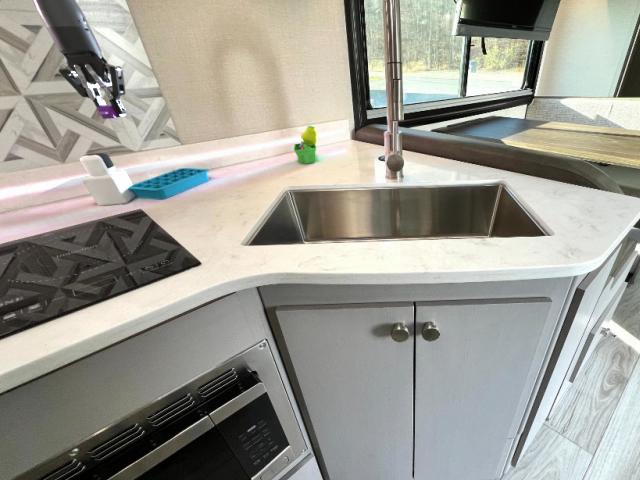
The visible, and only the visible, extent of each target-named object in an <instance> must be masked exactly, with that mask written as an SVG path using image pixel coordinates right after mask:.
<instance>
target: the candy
mask: <svg viewBox="0 0 640 480" xmlns="http://www.w3.org/2000/svg"><path fill="white" fill-rule="evenodd" d="M96 109H97V111H98V112H97V115H99V116H100V117H101V118H102V119H103V120H106V119H107V120H108V119H109V120H110V119H118V118H119V117H118V116H117V114H116V112H115V111H114V109H113V107H112V105H111V104H106V106H100V107H96ZM124 109H125V111H126V113H125V114H126V116H125V117H127V116H128V115H127V110H126V108H125V107H124Z"/></svg>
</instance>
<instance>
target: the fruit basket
mask: <svg viewBox="0 0 640 480" xmlns="http://www.w3.org/2000/svg"><path fill="white" fill-rule="evenodd" d="M317 135H318V132H317V130H316V127H315V126H313V125H308V126H307V128H306V129H305V130H304V131H303V133H302V134H301V135H300V136H301V141H300V143H299V142H298V143H294V144H293V151H294V153H295V154H296V157H297V159H298V161H299V163H300V164H301V165H307V164H316V154H317V152H316V151H317V143H318V136H317Z"/></svg>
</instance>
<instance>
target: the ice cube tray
mask: <svg viewBox="0 0 640 480" xmlns="http://www.w3.org/2000/svg"><path fill="white" fill-rule="evenodd" d="M209 172H210V169H208V168H194V167H193V168H192V167H181V168H177V169H174V170H171V171H169V172H165V173H162V174H159V175H157V176H154V177H151V178H148V179H145V180H142V181H139V182H135V183H132V184H133V185H132V186H130V187H129V188H128V189H132V190H133V191H134V193H135V194H136V198H141V199H151V200H165V199H169V198H171V197H174V196H176V195H178V194H180V193H184V192H185V191H187V190H190V189H192V188H194V187H198V186H199V185H202V184H204V183H206V182H209V181H210V179H209V175H208V173H209Z"/></svg>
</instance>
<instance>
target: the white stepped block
mask: <svg viewBox="0 0 640 480" xmlns="http://www.w3.org/2000/svg"><path fill="white" fill-rule="evenodd" d="M79 162H80V163H81V165H82V167H83V168H84V170H85V171H86V173H87V174H88V175H87V176H85V177H84V178H82V179H81V180H82V181H81V182H83V184H84V185H85V187H86V189H87V190H88V192H89V193H90V195H91V196H92V198H93V200H94V201H95V203H96V204H97V206H99V207H101V206H103V207H104V206H112V205H113V206H114V205H125V204H128V203H130V202H131V201H132V200H133V199H135V198H137V196H136V194H135V193H134V191H133V190H132V189H128V188H129V187H130V186H132V185H133V184H134V183H133V182H132V180H131V178H130V176H129V175H128V173H127V171H126V170H125V169H116V166H115V165H114V163H113V161H112V159H111V157H110V155H109V154H107V153H104V152H93V153H88V154H84V155H81V156H80V157H79Z"/></svg>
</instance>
